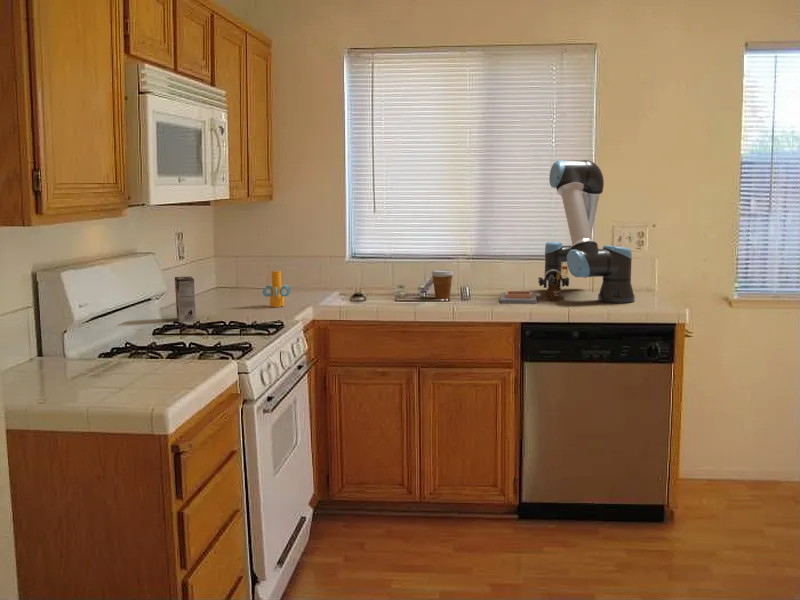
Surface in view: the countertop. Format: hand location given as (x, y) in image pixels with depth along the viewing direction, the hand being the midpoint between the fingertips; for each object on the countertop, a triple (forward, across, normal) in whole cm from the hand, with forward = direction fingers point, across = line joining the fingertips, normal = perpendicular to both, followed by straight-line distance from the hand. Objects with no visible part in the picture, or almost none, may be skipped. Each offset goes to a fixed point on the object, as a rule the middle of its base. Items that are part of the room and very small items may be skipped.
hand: (554, 285), depth 368 cm
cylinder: (+22, +115, -7) cm, 117 cm away
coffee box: (+56, +140, -7) cm, 151 cm away
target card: (-5, +15, -7) cm, 17 cm away
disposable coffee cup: (-8, +48, -7) cm, 50 cm away
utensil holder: (-5, 0, -7) cm, 9 cm away
